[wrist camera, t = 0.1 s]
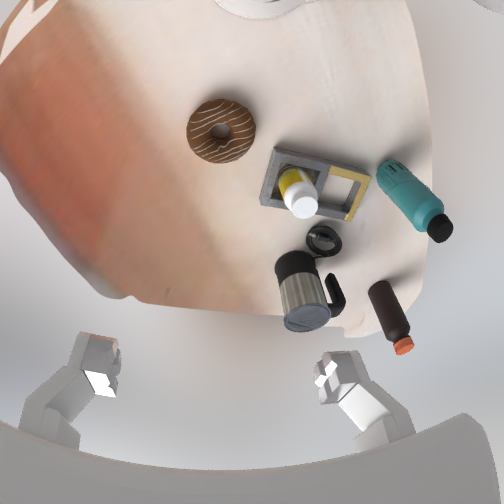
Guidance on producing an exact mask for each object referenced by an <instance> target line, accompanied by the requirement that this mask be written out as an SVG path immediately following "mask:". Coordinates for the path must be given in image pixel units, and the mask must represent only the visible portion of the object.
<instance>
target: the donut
mask: <svg viewBox="0 0 504 504" xmlns="http://www.w3.org/2000/svg"><path fill="white" fill-rule="evenodd" d="M223 123H224V124H226V125H227V126H228V127H229V128H230V129H231V135H230V136H229V137H228V138H225V139H224V140H218V139H215V138H213V137H212V129H213V127H214V126H215V125H217V124H223ZM255 131H256V125H255V123H254V120H253V118H252V115H251V113H250V112H249V111H248V109H247V108H245V107H243V106H241V105H240V104H238V103H237V102H235V101H230V100H225V99H218V100H213V101H210V102H206V103H204V104H202V105H201V106H200V107H199V108H198V109H197V110H196V111H195V112H194V113H193V114H192V115H191V117H190V119H189V122H188V125H187V139H188V143H189V145H190V148H191V149H192V150H193V151H194V153H195V154H196V155H198V156H199V157H201V158H202V159H204V160H206V161H208V162H212V163H228V162H232V161H235V160H238V159H239V158H240V157H241V156H243V155H244V154H245V153H246V152H247V151H248V150H249V148H250V147H251V146H252V144H253V142H254V138H255Z"/></svg>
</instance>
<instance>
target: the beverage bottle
mask: <svg viewBox="0 0 504 504" xmlns="http://www.w3.org/2000/svg"><path fill="white" fill-rule="evenodd" d="M401 164H402V163H401ZM401 164H400V163H399V162H397V161H393V160H390V161H386V162H385V163H383V164H382V165H381V166H380V167H379V169H378V171H377V175H376V178H377V182H378V184H379V186H380V187H381V188H382V189H383V190H384V191H385V192H384V191H383V192H384V193H385V194H386V195H388V196H389V197H390V198H391V199H392V200H393V202H394V203H395V204H396V205H397V206H398V207H399V208H400V209H401V211H402V212H403V213H404V214H405V215H406V217H407V218H408V219H409V220H410V222H411V223H412V224H413V226H414V227H415V229H416V230H418V231H420V232H427V233H428V235H429V236H430V237H431V238H432V239H433V240H434V241H435V242H437V243H441V242H444V241H446V240H447V239H448V238H449V237H450V235H451V234H452V231H453V224H452V222H451V221H450V220H449V218H448V217H447V216H446V215H445V214H444V205H443V203H442V201H441V200H440V199H438V198H437V197H436V196H435V195H434V194H433V193H432V191H431V190H430V189H428V187H426V185H424V184H423V183H422V182H421V181H420V180H418V179H417V177H415V176H414V175H413V174H412V172H410V171H408V169H407V168H405V167H404V166H403V164H402V165H401ZM392 200H391V201H392Z"/></svg>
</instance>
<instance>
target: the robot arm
mask: <svg viewBox="0 0 504 504" xmlns="http://www.w3.org/2000/svg"><path fill="white" fill-rule="evenodd" d="M215 1H216V3H217V4H218V5H220V6H221V7H222V8H223V9H225V10H227V11H228V12H230V13H232V14H235V15H237V16H240V17H244V18H250V19H270V18H275V17H278V16H281V15H284V14H286V13H288V12H290V11H292V10H293V9H295V8H296V7H297V6H299V5H301V4H305V3H310V2H315V1H317V0H215ZM474 1H475V2H477V3H478V4H480V5H482V6H483V7H485V8H487V9H489V10H492V11H495V12H497V13H501V14H504V0H474ZM321 357H322V360H321V361H319V362H317V364H316V365H315V367H314V372H313V374H314V381H315V383H316V384H317V385H318V386H319V389H318V396H319V399H320V403H321V404H331V403H338V405H339V406H340V407H341V408H342V409H343V410H344V411H345V413H346V414H347V415H348V416H349V417H350V418H351V419H352V421H353V422H354V423H355V424H356V425H357V426H358V427H359V428H360V429H361V431H363V432H362V433H361V434H359V435H358V436H356V437H355V439H354V442H355V446H356V450H357V453H354V454H351V455H346V456H342V457H338V458H333V459H328V460H323V461H318V462H312V463H306V464H300V465H293V466H285V467H276V468H265V469H252V470H190V469H177V468H166V467H157V466H148V465H142V464H136V463H130V462H124V461H119V460H114V459H110V458H105V457H101V456H97V455H93V454H89V453H85V452H82V451H79V443H80V434H79V432H78V431H77V430H76V429H75V428H74V427H73V426H72V425H71V424H70V423H71V422H72V421H73V420H74V419H75V418H76V417H77V415H78V414H79V413H80V412H81V411H82V410H83V409H84V407H85V406H86V405H87V404H88V403H89V402H90V400H91V399H92V398H93V397H94V396H95V393H96V394H101V395H107V396H112V397H115V396H116V390H117V385H118V382H117V378H116V376H117V375H118V374H119V373H120V369H121V352H120V350H119V349H118V341H117V339H115V338H110V337H105V336H99V335H94V334H90V333H85V332H80V333H79V334H78V335H77V338H76V341H75V344H74V347H73V350H72V353H71V356H70V359H69V362H68V365H67V367H66V366H63V367H62V368H61V369H60V370H58V371H57V372H56V373H55V374H54V375H53V376H51V377H50V378H49V379H48V380H47V381H46V382H44V383H43V384H42V385H41V386H40V387H39V388H37V389H36V390H35V391H34V392H33V393H32V394H30V395H29V396H28V397H27V398H26V401H25V404H24V407H23V411H22V415H21V419H20V423H19V427H18V428H16V427H14V426H12V425H10V424H8V423H6V422H4V421H2V420H0V504H501V501H500V492H499V484H498V478H497V472H496V468H495V463H494V460H493V455H492V452H491V448H490V445H489V442H488V439H487V436H486V433H485V431H484V429H483V427H482V426H481V425H480V424H479V423H478V422H477V421H476V420H475V419H473V418H472V417H471V416H469V415H468V414H466V413H461V414H459V415H457V416H454V417H453V418H451V419H448V420H446V421H444V422H442V423H440V424H438V425H435V426H433V427H431V428H428V429H426V430H424V431H421V432H419V433H416V431H415V429H414V426H413V423H412V421H411V418H410V415H409V413H408V410H407V409H405V408H404V407H403V406H402V405H401V404H400V403H399V402H398V401H396V400H395V399H394V398H393V397H391V395H389V394H388V393H387V392H386V391H385V390H384V389H382V388H381V387H380V386H379V385H378V384H377V383H375V382H374V381H371V380H370V378H369V375H368V373H367V370H366V368H365V365H364V363H363V360H362V358H361V355H360V353H359V352H358V351H355V350H353V351H335V352H325V353H324V354H323V355H322V356H321Z"/></svg>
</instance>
